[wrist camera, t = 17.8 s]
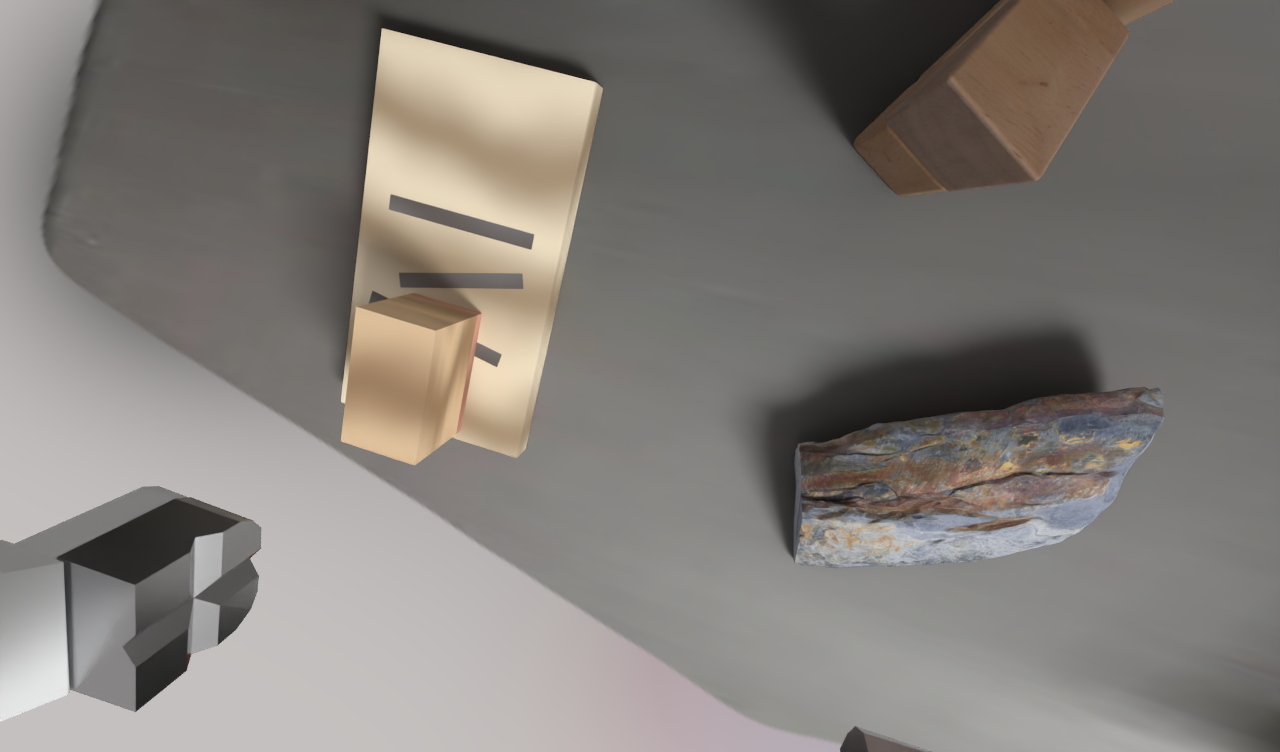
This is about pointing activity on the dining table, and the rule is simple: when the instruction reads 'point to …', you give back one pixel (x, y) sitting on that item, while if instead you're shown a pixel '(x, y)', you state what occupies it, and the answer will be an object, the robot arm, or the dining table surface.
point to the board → (475, 209)
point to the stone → (968, 480)
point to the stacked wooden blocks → (999, 96)
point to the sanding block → (408, 375)
